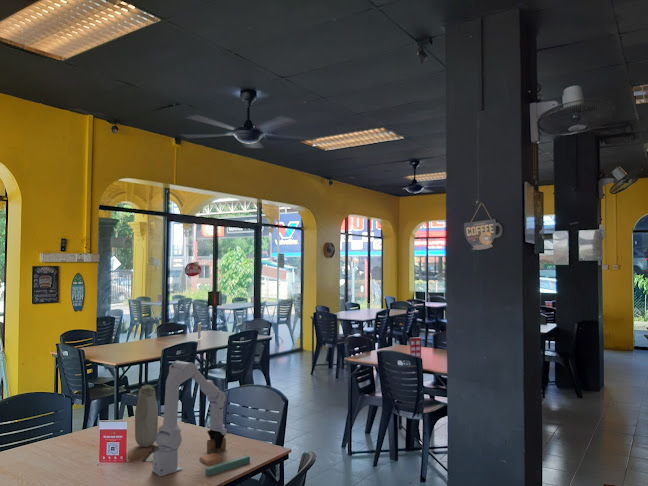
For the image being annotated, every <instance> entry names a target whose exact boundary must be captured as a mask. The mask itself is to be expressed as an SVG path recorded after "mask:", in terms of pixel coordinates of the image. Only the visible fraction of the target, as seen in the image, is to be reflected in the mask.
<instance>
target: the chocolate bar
mask: <svg viewBox="0 0 648 486" xmlns="http://www.w3.org/2000/svg"><path fill="white" fill-rule="evenodd" d="M159 449H160V448H159V445H154V447H153V448H151V450H150V451H149V452H148V453H147V455H146V456H145V457H144V458H143V459H142V463H153V453H154V452H156V451H158V450H159Z"/></svg>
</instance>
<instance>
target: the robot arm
mask: <svg viewBox="0 0 648 486" xmlns="http://www.w3.org/2000/svg"><path fill="white" fill-rule="evenodd" d="M191 378H192V380H193V381H195V382H196V383H197V384H198V385H199V386H200V391H201V392H202V393H203V394H204V395H205V396H206V397H207V401H208V402H209V403H210V406H209V409H210V411H209V413H210V414H209V422H208V423H206V428H207V429H209V430H207V431H206V433H207V434H208V436H209V440H210V439H214V438H215V444H216V449H218V448H221V445H222V441H223V438H224V437H225V436H226V435H228V434H227V433H228V430H227V429H226V428H225V427H226V425H225V424H224V406H225V402H226V398H227V396H226V394H225V392H224V391H223V390H220V389H219V387H218V386H217V385H215V384H214V380H211V379H206V378H205V376H204V375H203V374H202V373H201V372H200V371H199V368H198V366H196V364H195V363H194V362H187V361H181V360H175V361H173V363H171V365H169V366H168V375H167V378H166V380H165V389H164V390H165V393H164V406H163V423H162V424H161V426H158V433H157V436H156V441H155V443H156V445H157V446H159V448H160V449H159V450H158V451H156V452H154V453H153V462H152V469H151V472H153V473H154V474H155V475H158V476H159V477H163V476H166V475H169V474H173V473H176V472H179V471H181V470H182V468H181V467H180V466H178V461H179V460H178V459H179V456H178V455H179V454H178V453H179V452H178V450H179V448H180V446H181V444H182V441H183V438H182V435H181V432H182V431H181V429H180V426H179V425H178V415H179V414H178V413H179V396H180V385H182V384H183V383H184V382H186V381H187V380H189V379H191Z"/></svg>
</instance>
